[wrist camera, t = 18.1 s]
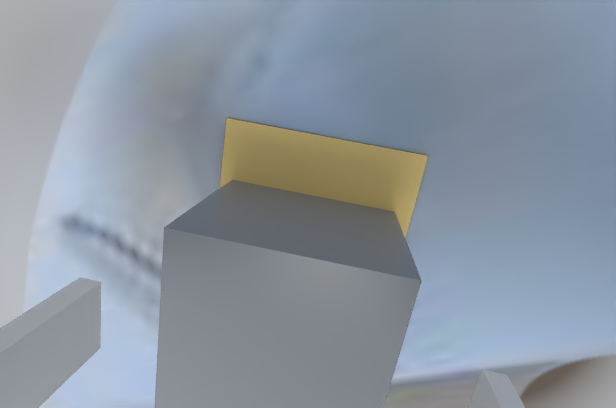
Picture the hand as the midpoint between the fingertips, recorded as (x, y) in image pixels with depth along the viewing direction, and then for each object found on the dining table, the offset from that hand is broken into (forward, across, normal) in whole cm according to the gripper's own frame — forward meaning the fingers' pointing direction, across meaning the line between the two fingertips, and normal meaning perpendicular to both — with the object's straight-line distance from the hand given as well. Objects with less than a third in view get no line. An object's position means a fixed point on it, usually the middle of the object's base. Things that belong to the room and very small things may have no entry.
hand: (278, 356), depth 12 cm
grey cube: (+11, +1, +2) cm, 12 cm away
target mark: (+11, 0, 0) cm, 11 cm away
